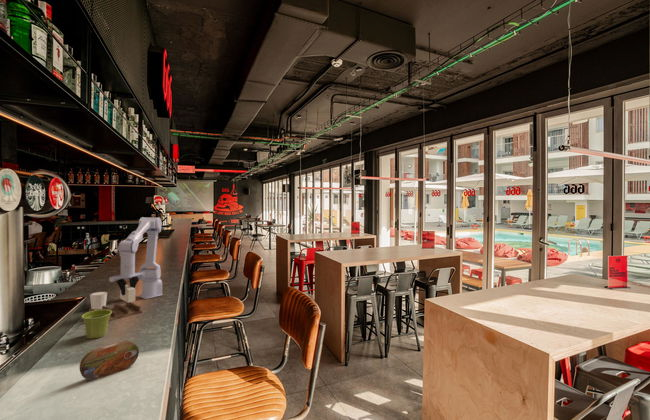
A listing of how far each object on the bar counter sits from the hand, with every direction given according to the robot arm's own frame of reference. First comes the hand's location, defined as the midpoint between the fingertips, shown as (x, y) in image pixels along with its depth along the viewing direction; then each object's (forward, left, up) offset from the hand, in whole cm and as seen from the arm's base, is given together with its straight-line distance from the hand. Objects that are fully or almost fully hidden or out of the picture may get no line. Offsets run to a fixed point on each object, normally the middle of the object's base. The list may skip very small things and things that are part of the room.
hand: (127, 293), depth 145 cm
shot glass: (+6, -16, -9) cm, 19 cm away
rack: (+5, 0, -8) cm, 10 cm away
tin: (+25, +53, -9) cm, 59 cm away
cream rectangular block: (0, 0, -3) cm, 3 cm away
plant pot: (+18, +20, -9) cm, 29 cm away
